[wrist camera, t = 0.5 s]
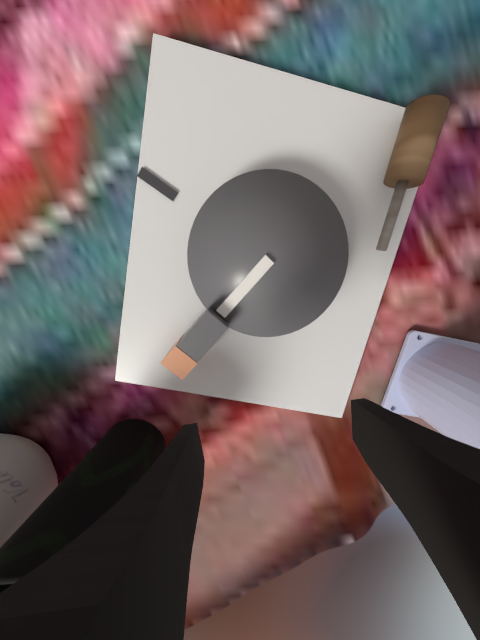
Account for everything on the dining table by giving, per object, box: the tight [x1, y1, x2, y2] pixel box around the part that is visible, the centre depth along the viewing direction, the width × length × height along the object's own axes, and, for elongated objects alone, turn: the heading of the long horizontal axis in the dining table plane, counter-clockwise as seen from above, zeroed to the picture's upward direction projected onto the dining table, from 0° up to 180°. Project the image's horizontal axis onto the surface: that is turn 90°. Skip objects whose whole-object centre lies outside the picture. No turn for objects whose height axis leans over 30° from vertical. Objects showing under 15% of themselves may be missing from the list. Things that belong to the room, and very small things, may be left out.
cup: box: [0, 419, 165, 593], centre depth 16 cm, size 8×8×12 cm
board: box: [115, 33, 418, 418], centre depth 18 cm, size 20×24×1 cm
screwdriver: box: [376, 95, 450, 251], centre depth 16 cm, size 9×2×2 cm, turn 168°
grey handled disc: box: [161, 169, 349, 380], centre depth 16 cm, size 16×11×3 cm
